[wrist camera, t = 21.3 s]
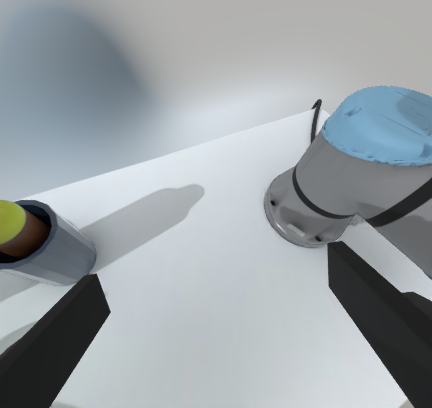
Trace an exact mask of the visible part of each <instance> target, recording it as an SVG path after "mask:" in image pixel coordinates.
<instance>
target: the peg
mask: <svg viewBox="0 0 432 408" xmlns="http://www.w3.org/2000/svg"><path fill="white" fill-rule="evenodd" d="M50 230H51V227H50V226H49V225H47V224H46V223H44V222H43V221H41V220H40V219H38V218H37V217H35V216H34V215H32V214H31V213H30V212H28V211H27V210H25V209H24V208H22V207H21V206H19V205H18V204H16V203H13V202H10V201H6V200H0V252H2V253H5V254H8V255H11V256H13V257H16V258H19V259H22V260H23V259H25V258H27V257H29V256H30V255H32V254H33V253H34V252H36V251H37V250H39V249H40V248H41V246H42V245H43V244H44V242H45V241H46V240H47V239H48V237H49V233H50Z"/></svg>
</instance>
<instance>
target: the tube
mask: <svg viewBox="0 0 432 408" xmlns="http://www.w3.org/2000/svg"><path fill="white" fill-rule="evenodd" d="M13 203H16V204H18V205H19V206H21V207H22V208H24V209H25V210H27V211H28V212H30V213H31V214H32V215H34V216H35V217H37V218H38V219H40V220H41V221H43V222H44V223H46V224H47V225H49V226H50V227H51V230H50V233H49V237H48V239H47V240H46V241H45V242H44V244H43V245H42V246H41V248H40V249H39V250H37V251H36V252H34V253H33V254H32V255H30V256H29V257H27V258H25V259H23V260H22V259H19V258H16V257H13V256H11V255H8V254H5V253H2V252H0V271H1V272H5V273H9V274H13V275H17V276H20V277H24V278H28V279H32V280H36V281H40V282H44V283H47V284H51V285H56V286H66V285H71V284H74V283H76V282H78V281H79V280H80V279H81V278H82V277H83V276H84V275H87V274H88V273H89V272H90V271H91V269H92V268H93V266H94V263H95V260H96V249H95V246H94V244H93V243H92V242H91V241H90V240H89V239H88V238H87V237H86V236H85V235H84V234H82V233H81V232H80V231H79V230H78V229H76V228H75V227H74V226H73V225H72V224H70V223H69V222H68V221H67V220H65V219H64V218H63V217H62V216H61V215H59V214H58V213H57V212H56V211H55V210H53V209H52V208H51V207H50V206H49V205H47V204H44V203H42V202H39V201H37V200H19V201H16V202H13Z"/></svg>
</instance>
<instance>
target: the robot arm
mask: <svg viewBox="0 0 432 408" xmlns="http://www.w3.org/2000/svg"><path fill="white" fill-rule="evenodd" d="M321 102H322V101H321V99H319V100H317V101H316V103H315V104H314V105H313V107H312V109H315V108H316V111H315V115H314V119H313V124H312V133H311V145H310V146H309V148H308V149H307V150H306V152H305V153H304V155H303V156H302V158H301V159H300V160H299V162H298V163H297V165H296V166H294V167H293V168H291V169H289V170H288V171H286V172H284V173H283V174H281V175H279V176H278V177H276V178H275V179H274V180H273V182H272V183H271V185H270V186H269V188H268V189H267V192H266V194H265V198H264V208H265V212H266V216H267V218H268V220H269V222H270V224H271V225H272V227H273V228H274V229H275V230H276V231H277V232H278V233H279V234H280V235H281V236H282V237H283V238H285V239H286V240H288V241H289V242H291V243H293V244H296V245H298V246H302V247H307V248H317V247H322V246H325V245H327V246H328V279H329V287H330V289H331V290H332V292H333V293H334V294H335V296H336V297H337V299H338V300H339V302H340V303H341V304H342V306H343V307H344V309H345V310H346V311H347V313H348V314H349V316H350V317H351V319H352V320H353V321H354V323H355V324H356V326H357V327H358V328H359V330H360V331H361V333H362V334H363V336H364V337H365V338H366V340H367V341H368V343H369V344H370V345H371V347H372V348H373V350H374V351H375V353H376V354H377V355H378V357H379V358H380V360H381V361H382V362H383V364H384V365H385V367H386V368H387V370H388V371H389V372H390V374H391V375H392V377H393V378H394V379H395V381H396V382H397V384H398V385H399V387H400V388H401V389H402V391H403V392H404V394H405V395H406V396H407V398H408V399H409V401H410V402H411V404H412V405H413V406H414V408H432V301H430V300H428V299H426V298H424V297H422V296H420V295H418V294H416V293H414V292H406V293H401V292H400V291H399V290H397V289H396V288H395V287H394V286H393V285H392V284H391V283H389V282H388V281H387V280H386V279H385V278H384V277H383V276H381V275H380V274H379V273H378V272H377V271H376V270H375V269H373V268H372V267H371V266H370V265H369V264H368V263H367V262H365V261H364V260H363V259H362V258H361V257H360V256H359V255H357V254H356V253H355V252H354V251H353V250H352V249H351V248H349V247H348V246H347V245H346V244H345V243H344V242H343V241H339V242H333V241H335V240H336V239H338V238H339V237H340V236H341V235H342V234H343V232H344V230H345V229H346V227H347V226H348V224H349V222H350V221H351V219H352V218H353V216H354V215H355V214H358V215H360V216H361V217H362V218H363V219H364V220H366V221H367V222H368V223H369V224H370V225H371V226H372V227H373V228H375V229H376V230H377V231H378V232H379V233H380V234H381V235H383V236H384V237H385V238H386V239H387V240H388V241H390V242H391V243H392V244H393V245H394V246H395V247H396V248H398V249H399V250H400V251H401V252H402V253H403V254H405V255H406V256H407V257H408V258H409V259H410V260H411V261H413V262H414V263H415V264H416V265H417V266H418V267H419V268H421V269H422V270H423V272H424V273H425V274H426V275H427V276H428V277H429V278H430V279H431V280H432V97H430V96H428V95H425V94H423V93H420V92H417V91H414V90H410V89H406V88H401V87H393V86H391V87H388V86H375V87H368V88H365V89H362V90H359V91H357V92H355V93H353V94H351V95H350V96H348V97H347V98H346V99H345V100H344V101H343V102H342V103H341V105H340V106H339V107H338V108H337V109H336V111H335V112H334V113H333V114H332V116H330V117H329V118H328V119H327V120H326V121H325V123H324V125H323V127H322V129H321V131H320V132H319V133H318V135H317V136H316V138H315V130H316V123H317V118H318V113H319V110H320V106H321ZM316 106H317V107H316ZM312 109H311V110H312ZM110 313H111V311H110V309H109V306H108V303H107V301H106V298H105V295H104V292H103V290H102V287H101V284H100V281H99V279H98V276H97V274H91V275H84V276H83V277H82V278H81V279H80V280H79V281H78V282H77V283H76V284H75V285H74V286H73V287H72V288H71V289H70V290H69V291H68V292H67V293H66V294H65V295H64V296H63V297H62V298H61V299H60V300H59V301H58V302H57V303H56V304H55V305H54V306H53V307H52V308H51V309H50V310H49V311H48V312H47V313H46V314H45V315H44V316H43V317H42V318H41V319H40V320H39V321H38V322H37V323H36V324H35V325H34V326H33V327H32V328H31V329H30V330H29V331H28V332H27V333H26V334H25V335H24V336H23V337H22V338H21V339H19V340H18V341H17V342H15V343H14V344H13V345H11V346H10V347H9V348H8V349H6V350H5V351H4V352H3V353H2V354H1V355H0V408H49V407H50V406H51V404H52V403H53V401H54V400H55V398H56V397H57V395H58V393H59V392H60V390H61V389H62V387H63V386H64V384H65V383H66V381H67V379H68V378H69V376H70V375H71V373H72V372H73V370H74V369H75V367H76V365H77V364H78V362H79V361H80V359H81V358H82V356H83V355H84V353H85V351H86V350H87V348H88V347H89V345H90V344H91V342H92V341H93V339H94V337H95V336H96V334H97V333H98V331H99V330H100V328H101V327H102V325H103V323H104V322H105V320H106V319H107V317H108V316H109V314H110Z"/></svg>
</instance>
